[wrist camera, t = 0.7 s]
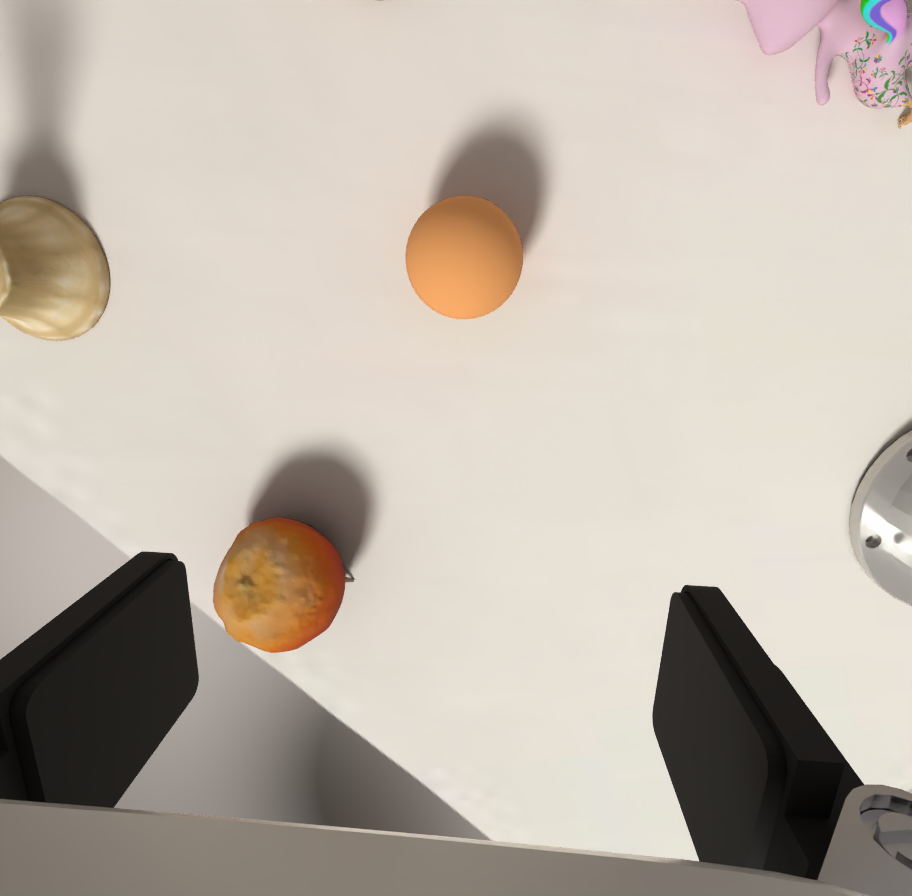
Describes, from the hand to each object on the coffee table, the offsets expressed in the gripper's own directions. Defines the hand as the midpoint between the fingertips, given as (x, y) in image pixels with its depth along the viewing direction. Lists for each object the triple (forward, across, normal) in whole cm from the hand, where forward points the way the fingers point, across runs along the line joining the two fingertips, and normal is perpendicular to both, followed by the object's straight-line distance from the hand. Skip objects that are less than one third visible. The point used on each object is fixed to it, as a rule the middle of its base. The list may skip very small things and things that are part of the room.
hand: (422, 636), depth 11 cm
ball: (+21, +1, -7) cm, 23 cm away
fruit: (+25, +11, +12) cm, 30 cm away
